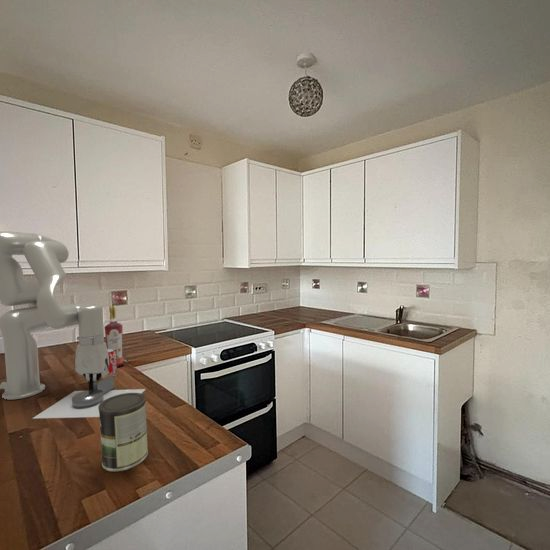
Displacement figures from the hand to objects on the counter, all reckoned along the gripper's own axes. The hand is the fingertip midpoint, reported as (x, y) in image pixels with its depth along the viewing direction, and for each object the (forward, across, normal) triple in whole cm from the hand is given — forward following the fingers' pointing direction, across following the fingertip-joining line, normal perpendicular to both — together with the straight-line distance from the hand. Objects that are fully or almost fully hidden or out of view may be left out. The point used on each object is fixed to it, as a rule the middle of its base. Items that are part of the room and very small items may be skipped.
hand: (94, 390), depth 113 cm
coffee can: (+2, +31, -33) cm, 45 cm away
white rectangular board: (+2, +5, -7) cm, 9 cm away
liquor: (+3, -12, +33) cm, 35 cm away
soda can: (+3, -6, +17) cm, 18 cm away
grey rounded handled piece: (+1, +3, -4) cm, 5 cm away
